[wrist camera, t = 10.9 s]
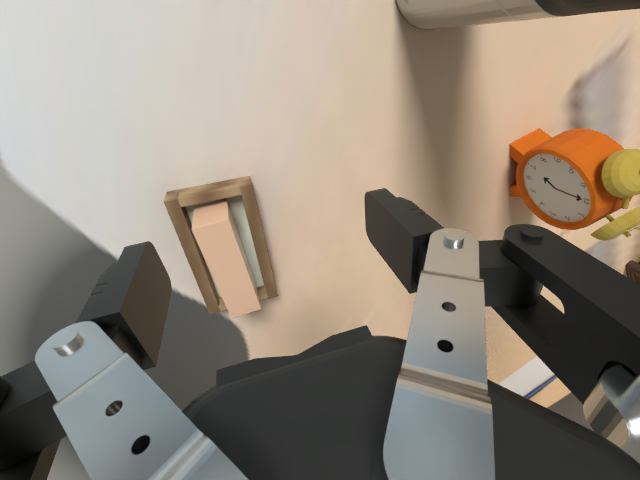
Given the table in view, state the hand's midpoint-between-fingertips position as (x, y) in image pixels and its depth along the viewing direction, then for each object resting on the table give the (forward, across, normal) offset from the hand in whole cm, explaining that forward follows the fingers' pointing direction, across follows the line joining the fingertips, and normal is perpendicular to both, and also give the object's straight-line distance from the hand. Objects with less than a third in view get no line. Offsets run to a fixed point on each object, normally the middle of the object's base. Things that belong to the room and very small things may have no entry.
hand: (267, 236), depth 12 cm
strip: (+27, +6, +16) cm, 32 cm away
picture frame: (+28, +6, +17) cm, 33 cm away
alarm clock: (+30, -43, +16) cm, 55 cm away
